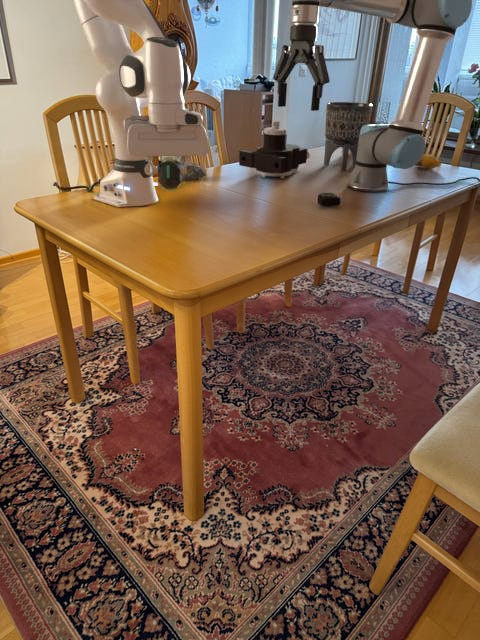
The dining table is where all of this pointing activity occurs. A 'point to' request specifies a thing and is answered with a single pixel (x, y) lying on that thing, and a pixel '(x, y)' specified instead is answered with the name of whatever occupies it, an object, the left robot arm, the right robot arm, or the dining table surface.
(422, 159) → the toy
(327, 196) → the tape measure
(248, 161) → the mechanical component
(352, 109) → the planter
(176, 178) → the ballet flat
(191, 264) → the dining table surface
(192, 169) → the rock
